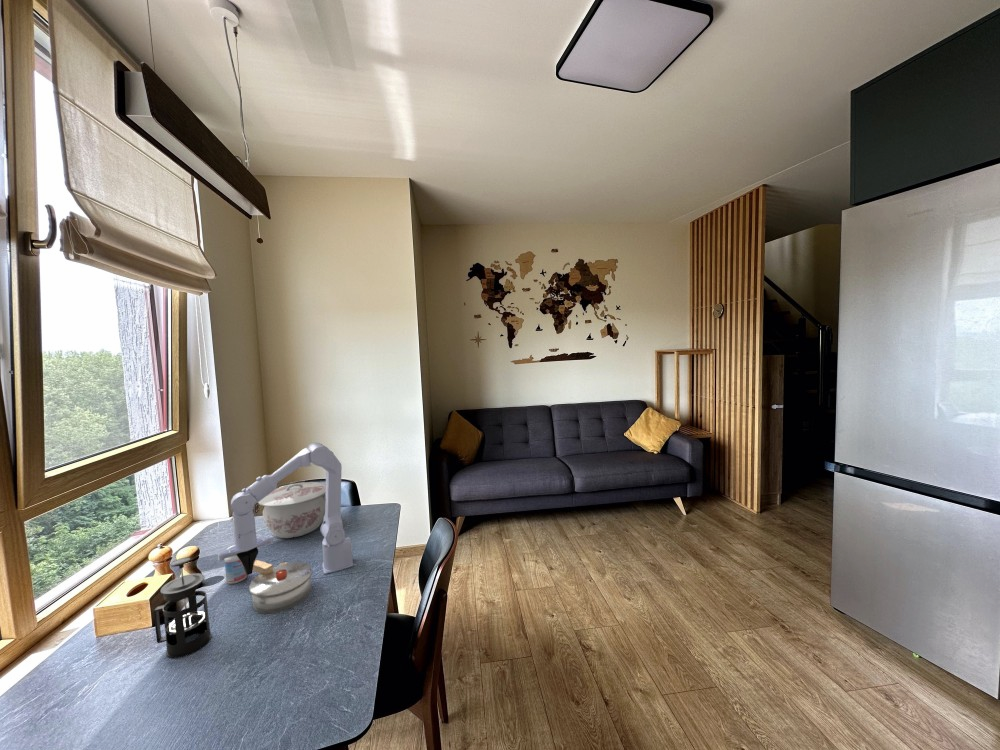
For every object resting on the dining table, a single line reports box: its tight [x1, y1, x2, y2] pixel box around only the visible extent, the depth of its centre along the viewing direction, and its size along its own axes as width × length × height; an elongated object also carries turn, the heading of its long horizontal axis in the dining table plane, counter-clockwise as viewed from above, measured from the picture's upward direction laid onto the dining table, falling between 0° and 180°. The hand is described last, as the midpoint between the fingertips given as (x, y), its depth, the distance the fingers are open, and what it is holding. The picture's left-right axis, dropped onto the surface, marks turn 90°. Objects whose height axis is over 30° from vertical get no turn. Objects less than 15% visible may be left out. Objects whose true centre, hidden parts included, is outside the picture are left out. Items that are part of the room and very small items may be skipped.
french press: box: [153, 556, 212, 659], centre depth 102 cm, size 12×9×23 cm
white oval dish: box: [251, 561, 313, 615], centre depth 125 cm, size 16×22×5 cm
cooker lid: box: [248, 559, 313, 597], centre depth 123 cm, size 22×17×3 cm
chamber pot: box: [258, 481, 326, 539], centre depth 168 cm, size 28×28×21 cm
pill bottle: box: [224, 544, 249, 585], centre depth 133 cm, size 6×6×11 cm
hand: (249, 573), depth 123 cm, fingers closed
